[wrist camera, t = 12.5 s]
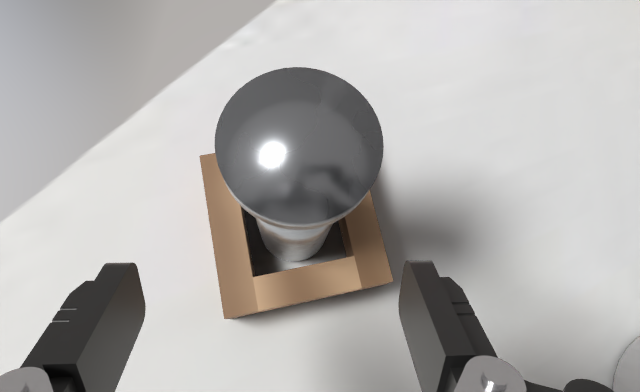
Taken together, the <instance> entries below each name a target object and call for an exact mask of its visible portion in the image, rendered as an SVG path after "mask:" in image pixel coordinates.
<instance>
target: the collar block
mask: <svg viewBox="0 0 640 392" xmlns="http://www.w3.org/2000/svg"><path fill="white" fill-rule="evenodd" d="M200 162H201V168H202V175H203V181H204V188H205V195H206V201H207V208H208V215H209V221H210V228H211V234H212V241H213V248H214V254H215V261H216V267H217V274H218V281H219V287H220V294H221V301H222V307H223V314H224V319H232V318H237V317H241V316H246V315H250V314H255V313H259V312H264V311H268V310H273V309H277V308H282V307H286V306H291V305H296V304H300V303H305V302H309V301H314V300H318V299H323V298H327V297H332V296H336V295H341V294H345V293H350V292H354V291H359V290H363V289H368V288H372V287H377V286H381V285H385V284H388V283H390V282H393V278H392V274H391V270H390V266H389V262H388V258H387V255H386V251H385V247H384V243H383V239H382V235H381V232H380V228H379V224H378V220H377V216H376V212H375V208H374V205H373V201H372V197H371V193H370V190H369V191H368V193H367V194H366V196H365V197H364V199H363V200H362V201H361V203H360V204H359V205H358V206H357V207H356V208H355V209H354V210H353V211H351V212H350V213H349V214H348V215H346V216H345V217H343V218H342V219H340V220H338V222H339V226H340V231H341V235H342V239H343V244H344V248H345V252H346V256H347V258H342V259H337V260H332V261H328V262H323V263H318V264H313V265H309V266H304V267H299V268H294V269H290V270H285V271H280V272H275V273H271V274H266V275H261V276H256V277H255V272H254V266H253V261H252V255H251V249H250V243H249V238H248V232H247V226H246V220H245V215H244V209H243V207H242V206H241V205H240V204H239V203H238V202H237V201H236V200H235V198H234V197H233V196H232V194H231V193H230V191H229V189H228V187H227V186H226V183H225V181H224V179H223V177H222V174H221V172H220V169H219V167H218V163H217V159H216V154H215V153H213V154H207V155H201V156H200Z"/></svg>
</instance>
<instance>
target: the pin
mask: <svg viewBox="0 0 640 392" xmlns="http://www.w3.org/2000/svg"><path fill="white" fill-rule="evenodd" d="M215 154H216V159H217V163H218V167H219V169H220V172H221V174H222V177H223V179H224V181H225V183H226V186H227V187H228V189H229V191H230V193H231V194H232V196H233V197H234V198H235V200H236V201H237V202H238V203H239V204H240V205H241V206H242V207H243V208H244V209H245V210H246V211H247V212H248V213H250V214H251V215H252V216H254V217H255V218H256V221H257V224H258V227H259V231H260V234H261V237H262V240H263V243H264V244H265V246H266V248H267V249H268V250H269V251H270V252H271V253H272V254H273V255H274V256H276V257H278V258H280V259H282V260H285V261H291V262H295V261H302V260H305V259H308V258H310V257H311V256H313V255H314V254H315V253H317V252H318V251H319V249H320V248H321V247H322V245H323V243H324V241H325V239H326V237H327V235H328V233H329V231H330V229H331V226H332V224H333V223H334V222H336V221H338V220H340V219H342V218H343V217H345V216H346V215H348V214H349V213H350V212H351V211H353V210H354V209H355V208H356V207H357V206H358V205H359V204H360V203H361V201H362V200H363V199H364V197H365V196H366V194H367V193H368V191H369V190H370V188H371V186H372V185H373V183H374V181H375V179H376V177H377V175H378V172H379V170H380V167H381V162H382V158H383V136H382V131H381V126H380V124H379V121H378V118H377V116H376V114H375V112H374V110H373V108H372V107H371V105H370V104H369V102H368V101H367V100H366V99H365V97H364V96H363V95H362V94H361V93H360V92H359V91H358V90H357V89H356V88H354V87H353V86H352V85H350V84H349V83H348V82H346V81H345V80H343V79H341V78H339V77H337V76H335V75H333V74H330V73H328V72H325V71H321V70H317V69H311V68H301V67H293V68H283V69H278V70H274V71H271V72H268V73H265V74H262V75H260V76H258V77H256V78H254V79H253V80H251V81H249V82H248V83H246V84H245V85H244V86H243V87H241V88H240V89H239V90H238V91H237V92H236V93H235V94H234V95H233V96H232V97H231V99H230V100H229V102H228V103H227V104H226V106H225V108H224V110H223V112H222V113H221V116H220V118H219V121H218V124H217V129H216V134H215Z"/></svg>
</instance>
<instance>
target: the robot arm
mask: <svg viewBox="0 0 640 392" xmlns="http://www.w3.org/2000/svg"><path fill="white" fill-rule="evenodd" d="M399 315H400V320H401V323H402V327H403V330H404V333H405V337H406V340H407V343H408V347H409V350H410V353H411V357H412V360H413V363H414V367H415V370H416V373H417V377H418V380H419V383H420V386H421V390H422V392H640V336H639V337H637V338H636V339H635V340H634V341H633V342H632V343H631V344H630V345H629V346H628V347H627V348H626V350H625V352H624V353H623V355H622V357H621V358H620V360H619V362H618V365H617V369H616V372H615V375H614V381H613V391H612V390H611V389H610V388H608V387H606V386H604V385H602V384H600V383H598V382H595V381H591V380H587V379H576V380H572V381H570V382H569V383H568V384H567V385H566V386H565V388H564V390H563V391H561V390H557V389H553V388H549V387H545V386H541V385H537V384H534V383H530V382H528V381H525V380H523V378H522V376H521V375H520V373H519V372H518V371H517V370H516V369H515V368H514V367H513V366H511V365H510V364H509V363H507V362H505V361H503V360H501V359H499V358H498V357H497V355H496V353H495V351H494V349H493V347H492V345H491V344H490V342H489V340H488V338H487V336H486V334H485V332H484V330H483V328H482V326H481V324H480V322H479V320H478V319H477V317H476V316H475V313H474V311H473V309H472V307H471V305H469V301H468V299H467V297H466V295H465V293H464V292H463V290H462V288H461V287H460V286H458V285H457V284H456V283H455V282H454V281H453V280H452V279H451V278H450V277H439V275H438V273H437V270H436V268H435V266H434V264H433V262H432V261H406V262H405V265H404V270H403V276H402V283H401V289H400V295H399ZM144 317H145V300H144V296H143V291H142V287H141V282H140V278H139V273H138V269H137V266H136V264H135V263H106V264H105V265H104V266H103V268H102V269H101V271H100V272H99V274H98V276H97V277H96V279H95V280H94V281H85V282H84V283H83V284H81V285H80V286H79V287H78V288H76V289H75V290H74V291H73V292H71V293H70V294H69V296H68V297H67V299H66V300H65V302H64V303H63V305H62V306H61V308H60V311H58V312H57V314H56V315H55V317H54V318H53V320H52V323H50V324H49V325H48V327H47V328H46V330H45V331H44V333H43V334H42V336H41V337H40V339H39V340H38V342H37V343H36V345H35V346H34V348H33V349H32V351H31V352H30V354H29V355H28V357H27V358H26V360H25V361H24V363H23V364H22V366H21V367H20V368H19V369H15V370H12V371H10V372H7V373H5V374H3V375H1V376H0V392H115V390H116V387H117V385H118V382H119V380H120V377H121V375H122V373H123V370H124V368H125V365H126V363H127V361H128V358H129V356H130V353H131V351H132V349H133V346H134V344H135V341H136V339H137V337H138V334H139V332H140V329H141V327H142V324H143V321H144Z"/></svg>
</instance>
